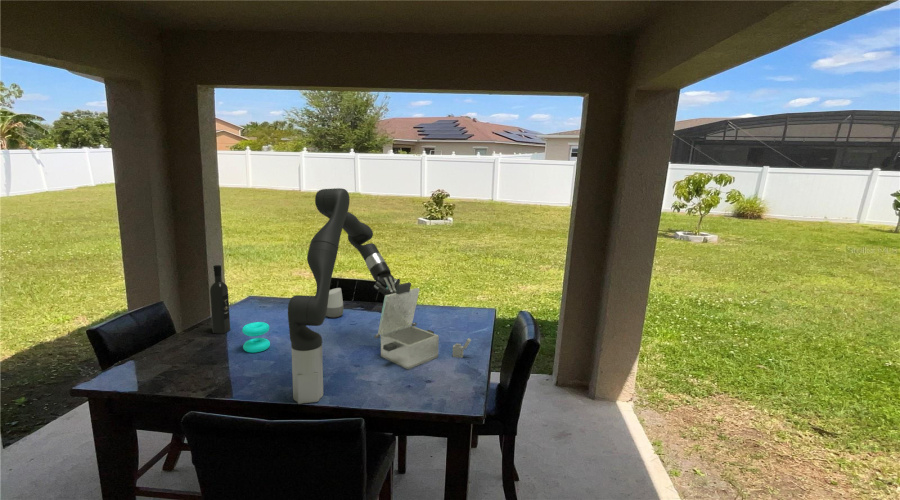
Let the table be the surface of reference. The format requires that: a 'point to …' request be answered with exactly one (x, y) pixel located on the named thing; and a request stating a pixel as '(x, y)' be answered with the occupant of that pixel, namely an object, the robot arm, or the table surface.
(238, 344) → the table surface
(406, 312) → the lid
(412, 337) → the grey rectangular box
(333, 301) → the smart speaker
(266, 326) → the donuts
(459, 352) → the lighter
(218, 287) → the wine bottle
